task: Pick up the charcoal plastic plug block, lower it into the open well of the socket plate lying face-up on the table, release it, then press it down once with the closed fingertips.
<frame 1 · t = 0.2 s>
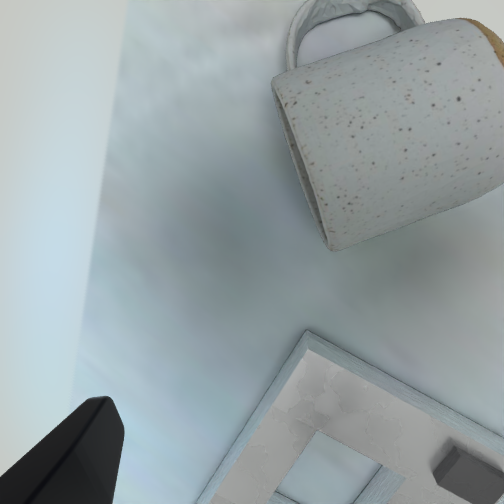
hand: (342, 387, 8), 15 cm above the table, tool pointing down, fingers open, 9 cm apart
ceramic mug: (356, 115, 21), on the table
socket plate: (340, 473, 26), on the table
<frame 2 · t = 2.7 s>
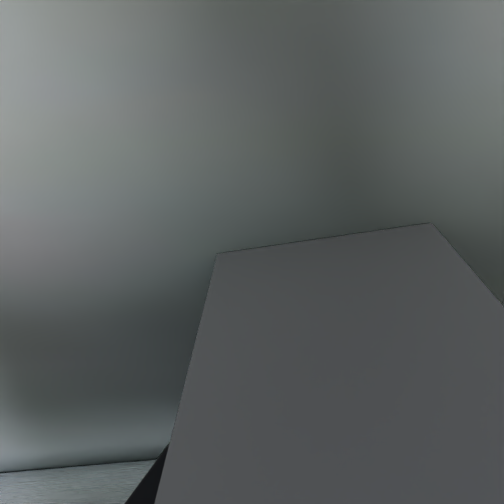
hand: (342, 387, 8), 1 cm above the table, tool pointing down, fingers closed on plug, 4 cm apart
plug: (334, 344, 9), on the table, touching gripper
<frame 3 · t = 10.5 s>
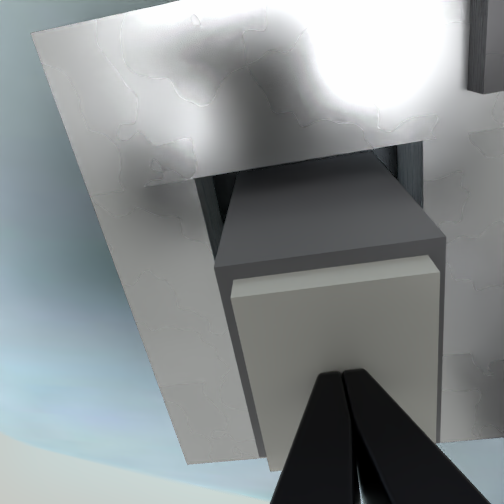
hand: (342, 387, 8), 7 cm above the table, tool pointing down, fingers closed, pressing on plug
socket plate: (343, 234, 14), on the table
plug: (312, 237, 14), resting in socket plate, touching gripper
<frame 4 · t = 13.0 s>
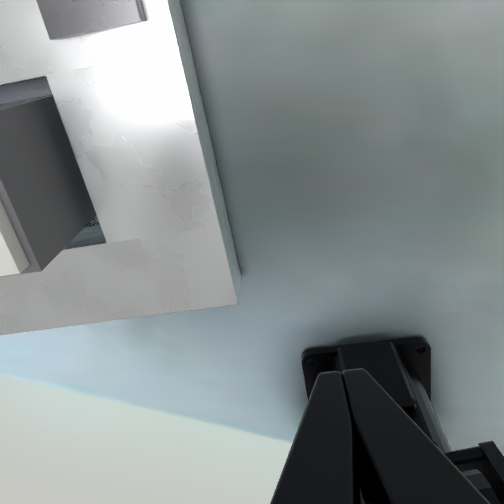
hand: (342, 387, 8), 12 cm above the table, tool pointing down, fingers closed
socket plate: (63, 158, 19), on the table
plug: (42, 160, 19), resting in socket plate
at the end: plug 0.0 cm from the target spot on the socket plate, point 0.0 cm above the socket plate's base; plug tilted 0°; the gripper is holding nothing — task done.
